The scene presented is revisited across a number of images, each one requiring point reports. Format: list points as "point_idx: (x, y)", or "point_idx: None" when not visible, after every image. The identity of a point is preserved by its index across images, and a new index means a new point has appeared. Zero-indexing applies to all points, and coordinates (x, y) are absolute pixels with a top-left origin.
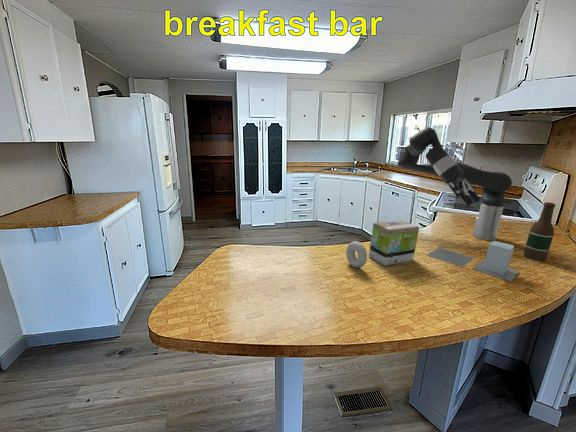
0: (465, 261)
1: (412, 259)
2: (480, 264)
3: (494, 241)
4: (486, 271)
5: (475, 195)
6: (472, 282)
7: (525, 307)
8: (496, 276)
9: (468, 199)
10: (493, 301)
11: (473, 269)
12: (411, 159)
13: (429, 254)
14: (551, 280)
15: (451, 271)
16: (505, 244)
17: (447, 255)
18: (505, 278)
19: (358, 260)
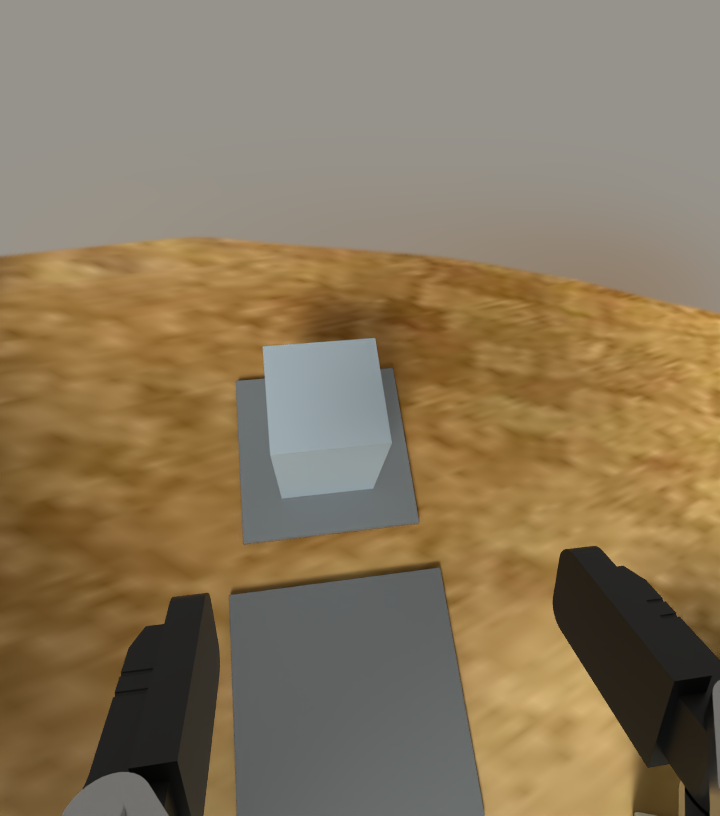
0: (343, 596)
1: (646, 814)
2: (318, 522)
3: (284, 446)
4: (388, 466)
5: (193, 703)
6: (553, 463)
7: (557, 289)
8: (401, 420)
9: (669, 608)
10: (624, 358)
11: (417, 517)
12: None
13: (446, 810)
14: (206, 285)
15: (538, 578)
16: (287, 384)
17: (347, 720)
18: (389, 389)
19: None
